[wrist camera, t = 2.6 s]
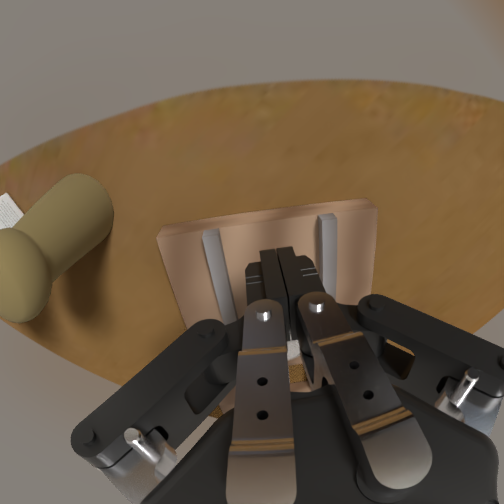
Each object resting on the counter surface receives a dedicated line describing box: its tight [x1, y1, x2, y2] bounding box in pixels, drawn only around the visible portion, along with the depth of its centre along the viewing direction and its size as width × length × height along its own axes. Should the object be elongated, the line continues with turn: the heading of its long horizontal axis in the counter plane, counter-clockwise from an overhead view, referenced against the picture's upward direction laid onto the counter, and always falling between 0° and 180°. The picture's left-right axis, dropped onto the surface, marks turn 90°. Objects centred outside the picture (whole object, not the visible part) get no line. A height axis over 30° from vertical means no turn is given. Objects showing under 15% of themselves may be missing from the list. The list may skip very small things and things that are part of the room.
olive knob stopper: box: [0, 173, 114, 323], centre depth 15 cm, size 6×6×11 cm
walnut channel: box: [156, 198, 378, 414], centre depth 24 cm, size 15×23×3 cm, turn 8°
